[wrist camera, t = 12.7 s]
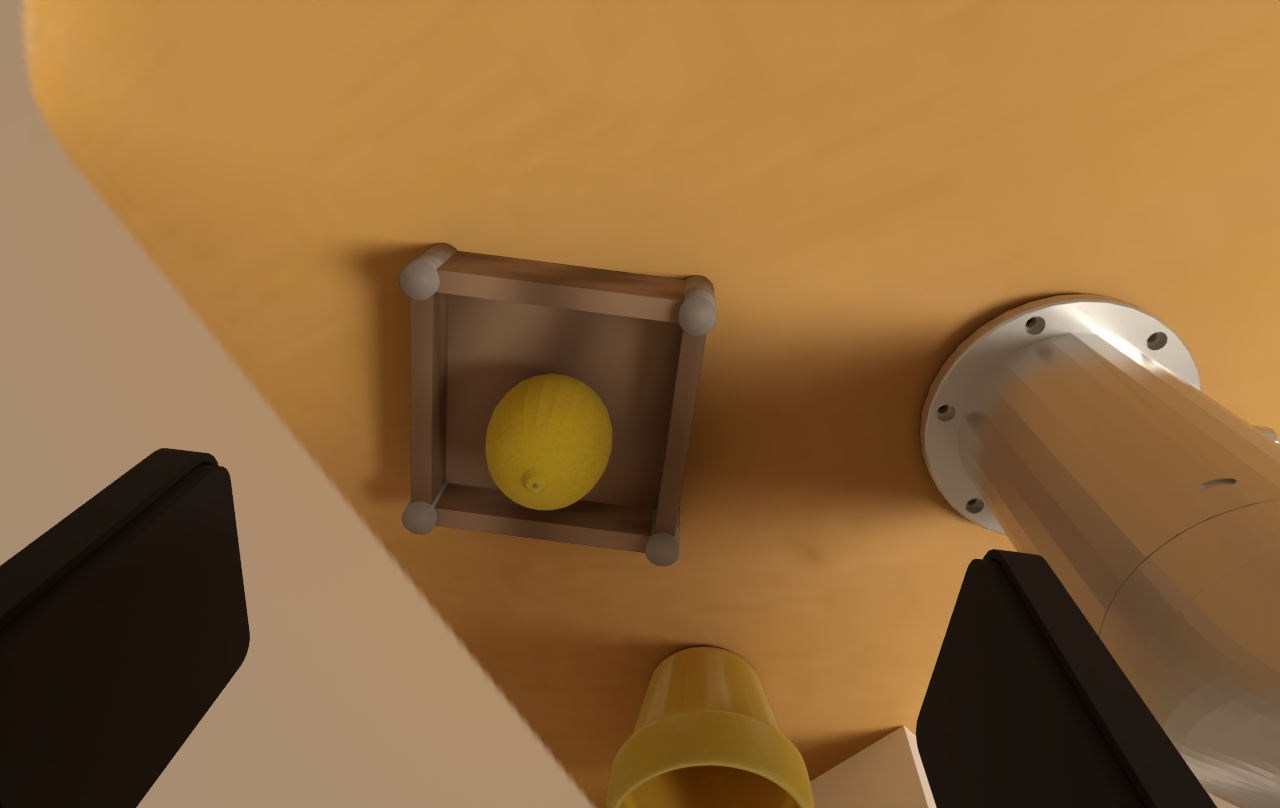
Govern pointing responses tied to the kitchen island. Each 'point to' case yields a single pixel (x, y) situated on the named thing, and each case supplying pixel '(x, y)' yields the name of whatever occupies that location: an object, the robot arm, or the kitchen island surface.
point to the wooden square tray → (553, 344)
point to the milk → (877, 777)
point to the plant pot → (707, 741)
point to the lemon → (548, 441)
